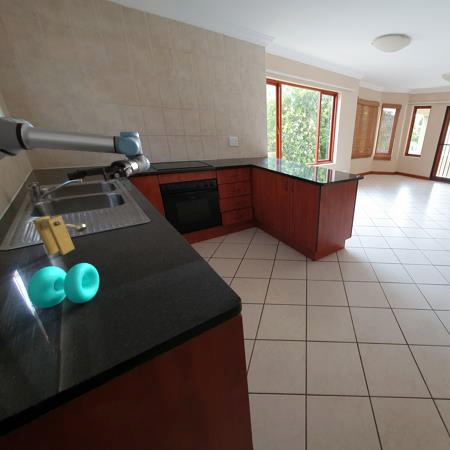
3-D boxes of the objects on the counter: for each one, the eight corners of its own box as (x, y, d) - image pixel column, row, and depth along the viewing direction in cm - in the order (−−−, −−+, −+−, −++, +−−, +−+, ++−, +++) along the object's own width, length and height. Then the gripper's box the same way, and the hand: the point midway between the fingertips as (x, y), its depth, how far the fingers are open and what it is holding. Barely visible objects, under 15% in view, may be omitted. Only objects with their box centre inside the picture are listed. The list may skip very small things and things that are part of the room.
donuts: (63, 290, 65) (48, 259, 61) (105, 285, 67) (93, 255, 63) (35, 317, 56) (16, 283, 52) (85, 310, 58) (70, 277, 54)
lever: (78, 232, 90) (80, 223, 90) (87, 232, 90) (89, 223, 90) (38, 227, 76) (40, 217, 76) (49, 227, 76) (51, 217, 76)
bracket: (64, 247, 87) (49, 212, 81) (87, 247, 87) (73, 212, 81) (37, 262, 77) (17, 224, 72) (62, 262, 77) (44, 224, 72)
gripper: (94, 159, 109) (50, 167, 89) (149, 160, 109) (116, 168, 90) (99, 175, 112) (57, 186, 92) (152, 176, 112) (122, 187, 93)
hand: (86, 177), depth 91 cm, fingers open, 13 cm apart
